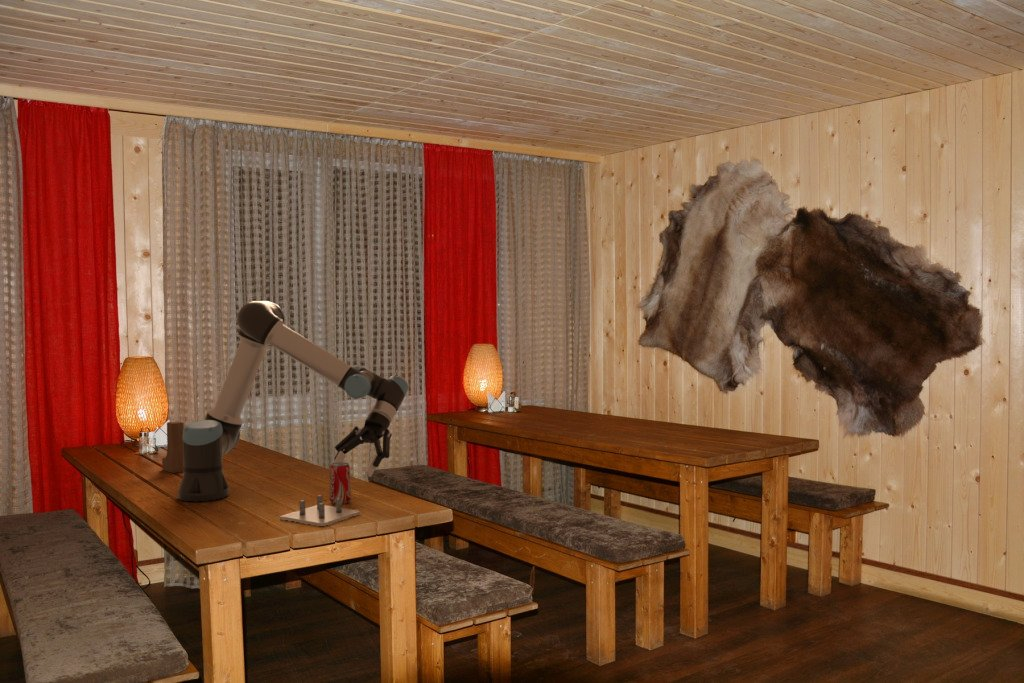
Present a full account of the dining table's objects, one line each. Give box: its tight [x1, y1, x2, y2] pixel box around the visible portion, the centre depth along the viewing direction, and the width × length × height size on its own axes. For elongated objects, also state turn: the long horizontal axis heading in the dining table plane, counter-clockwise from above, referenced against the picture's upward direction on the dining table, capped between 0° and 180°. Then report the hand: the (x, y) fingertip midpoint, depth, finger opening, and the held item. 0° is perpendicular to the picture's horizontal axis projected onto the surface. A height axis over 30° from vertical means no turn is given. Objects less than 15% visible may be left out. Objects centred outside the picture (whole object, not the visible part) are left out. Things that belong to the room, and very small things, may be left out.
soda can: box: [329, 461, 352, 505], centre depth 262 cm, size 6×6×12 cm
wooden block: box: [161, 420, 185, 474], centre depth 310 cm, size 9×4×18 cm, turn 46°
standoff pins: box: [298, 494, 343, 519], centre depth 245 cm, size 9×9×4 cm
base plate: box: [279, 504, 362, 527], centre depth 245 cm, size 16×16×1 cm
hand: (350, 472), depth 265 cm, fingers open, 13 cm apart
